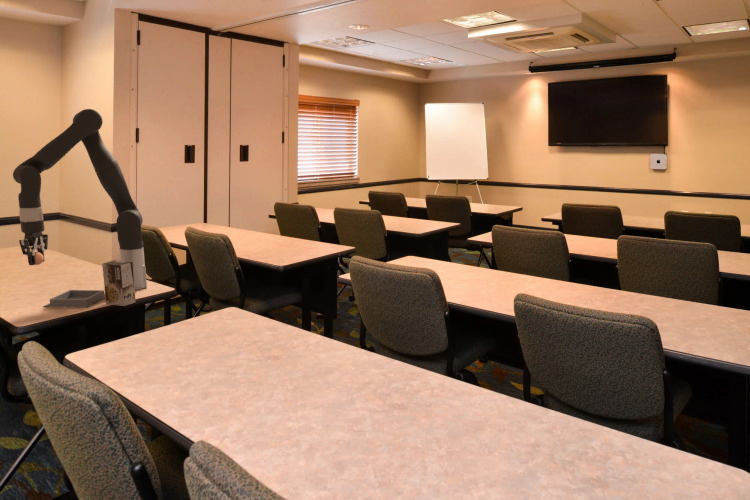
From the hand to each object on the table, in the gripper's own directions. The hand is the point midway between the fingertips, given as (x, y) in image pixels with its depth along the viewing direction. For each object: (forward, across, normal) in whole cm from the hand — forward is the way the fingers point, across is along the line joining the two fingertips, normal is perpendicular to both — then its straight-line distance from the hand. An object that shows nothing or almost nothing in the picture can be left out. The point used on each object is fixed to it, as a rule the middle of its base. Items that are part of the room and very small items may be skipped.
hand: (36, 263), depth 212 cm
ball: (-2, 0, 0) cm, 2 cm away
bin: (+15, 0, +15) cm, 21 cm away
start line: (+15, 0, +6) cm, 16 cm away
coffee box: (+16, 0, +31) cm, 35 cm away
